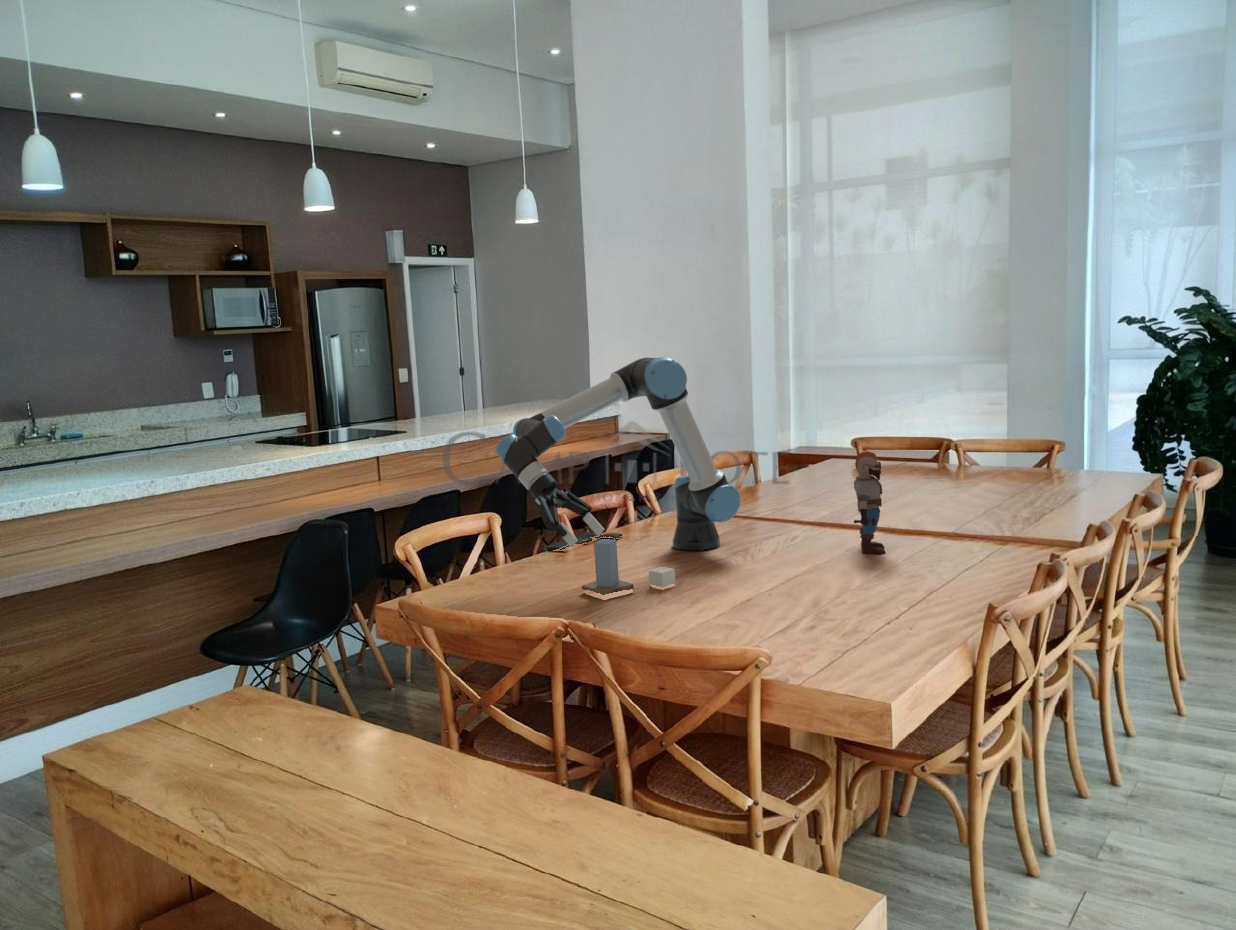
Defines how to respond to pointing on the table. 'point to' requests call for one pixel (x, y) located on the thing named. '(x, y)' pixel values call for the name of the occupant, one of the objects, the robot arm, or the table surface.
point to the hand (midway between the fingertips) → (588, 538)
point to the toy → (868, 500)
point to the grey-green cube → (662, 576)
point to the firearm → (580, 538)
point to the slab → (607, 590)
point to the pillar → (606, 563)
